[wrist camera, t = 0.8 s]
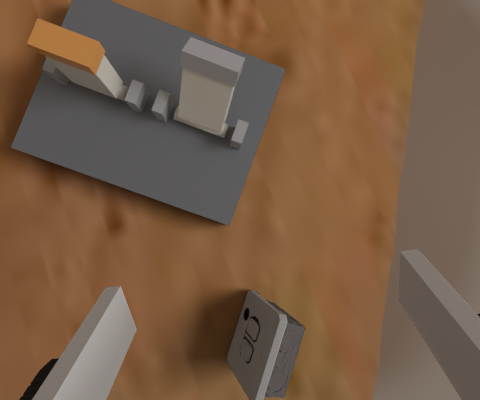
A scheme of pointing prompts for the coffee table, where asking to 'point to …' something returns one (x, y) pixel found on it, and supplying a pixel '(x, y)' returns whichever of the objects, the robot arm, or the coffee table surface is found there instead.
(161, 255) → the coffee table surface
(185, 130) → the breaker panel
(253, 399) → the electrical switch
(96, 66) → the breaker
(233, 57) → the breaker
